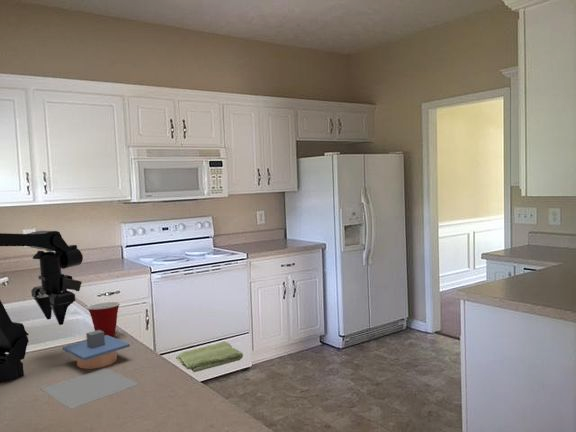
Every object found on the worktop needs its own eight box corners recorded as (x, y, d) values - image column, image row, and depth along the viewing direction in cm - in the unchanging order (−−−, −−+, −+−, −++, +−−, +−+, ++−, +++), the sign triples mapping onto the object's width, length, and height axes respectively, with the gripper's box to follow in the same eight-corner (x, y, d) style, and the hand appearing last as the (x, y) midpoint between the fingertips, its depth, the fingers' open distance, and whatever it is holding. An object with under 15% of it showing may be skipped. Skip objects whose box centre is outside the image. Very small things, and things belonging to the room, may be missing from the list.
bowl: (88, 374, 145) (86, 357, 144) (71, 365, 152) (69, 349, 152) (123, 363, 153) (122, 346, 152) (105, 355, 160) (104, 339, 160)
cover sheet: (84, 360, 142) (82, 343, 142) (62, 349, 152) (61, 334, 152) (129, 346, 152) (128, 330, 152) (107, 337, 162) (106, 322, 162)
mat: (70, 412, 122) (70, 408, 122) (40, 392, 134) (40, 388, 134) (138, 387, 135) (138, 384, 135) (105, 371, 147) (105, 367, 147)
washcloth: (173, 361, 154) (173, 351, 154) (227, 349, 163) (227, 339, 163) (188, 375, 143) (188, 364, 143) (245, 361, 152) (245, 351, 151)
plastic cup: (118, 330, 185) (116, 298, 184) (125, 338, 176) (123, 304, 175) (86, 336, 180) (84, 303, 179) (92, 345, 170) (89, 309, 169)
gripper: (90, 270, 155) (94, 321, 156) (64, 264, 168) (68, 311, 169) (52, 277, 147) (57, 330, 148) (28, 270, 160) (33, 319, 161)
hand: (55, 321), depth 157 cm, fingers open, 9 cm apart
